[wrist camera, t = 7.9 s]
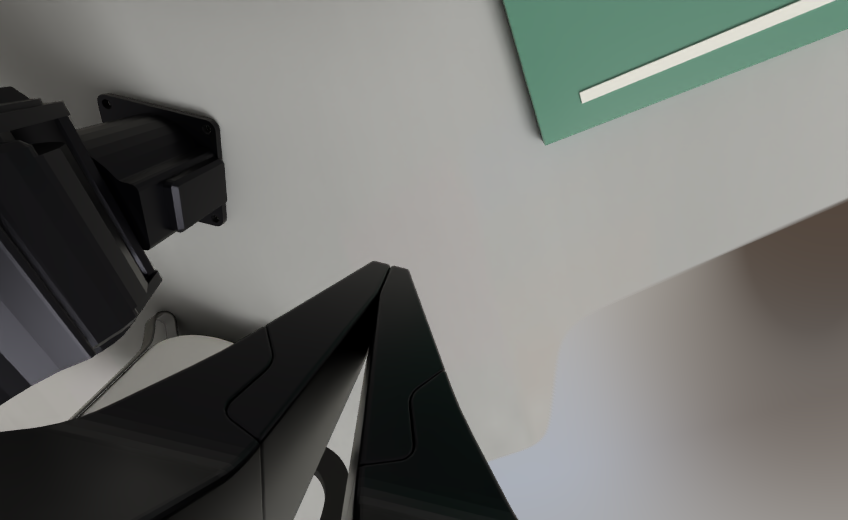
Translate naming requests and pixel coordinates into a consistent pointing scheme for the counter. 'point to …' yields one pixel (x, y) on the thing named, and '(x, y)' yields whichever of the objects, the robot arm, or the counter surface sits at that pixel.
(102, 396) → the coffee press
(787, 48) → the board
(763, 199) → the counter surface
